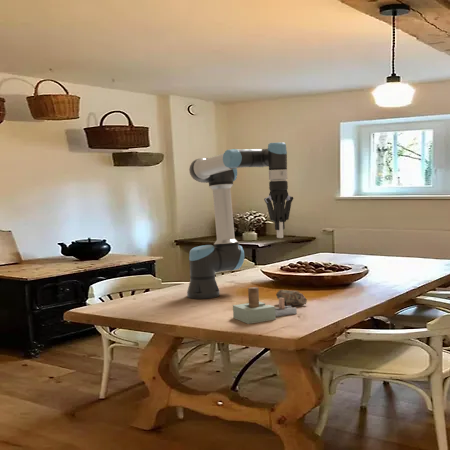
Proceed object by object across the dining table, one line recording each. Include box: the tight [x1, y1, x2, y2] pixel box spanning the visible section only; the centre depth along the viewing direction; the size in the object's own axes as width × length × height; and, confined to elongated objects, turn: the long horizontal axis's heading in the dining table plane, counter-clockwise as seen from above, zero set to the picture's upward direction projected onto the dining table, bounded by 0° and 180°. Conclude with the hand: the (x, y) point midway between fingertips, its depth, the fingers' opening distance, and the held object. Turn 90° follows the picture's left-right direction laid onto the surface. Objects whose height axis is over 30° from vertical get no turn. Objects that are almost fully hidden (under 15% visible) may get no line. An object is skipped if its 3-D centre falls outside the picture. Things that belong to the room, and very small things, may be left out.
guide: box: [275, 305, 298, 318], centre depth 244 cm, size 5×12×2 cm, turn 117°
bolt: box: [275, 298, 286, 310], centre depth 242 cm, size 2×9×6 cm, turn 116°
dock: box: [232, 301, 276, 325], centre depth 238 cm, size 12×12×5 cm
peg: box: [247, 286, 260, 308], centre depth 238 cm, size 4×4×12 cm
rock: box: [275, 289, 308, 307], centre depth 261 cm, size 7×11×10 cm
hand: (280, 237), depth 254 cm, fingers closed
